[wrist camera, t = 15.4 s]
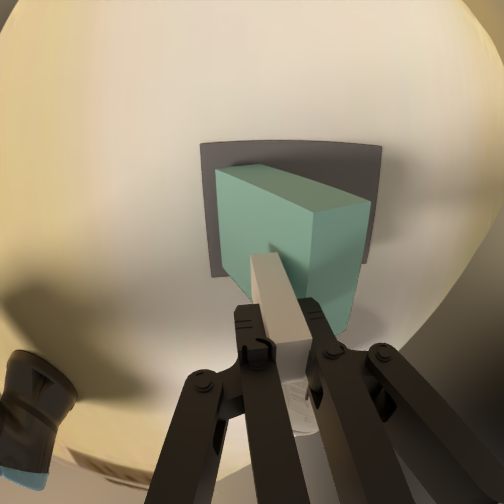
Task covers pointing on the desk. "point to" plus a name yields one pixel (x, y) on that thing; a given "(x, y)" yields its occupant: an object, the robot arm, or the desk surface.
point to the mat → (296, 162)
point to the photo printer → (299, 408)
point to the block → (293, 233)
